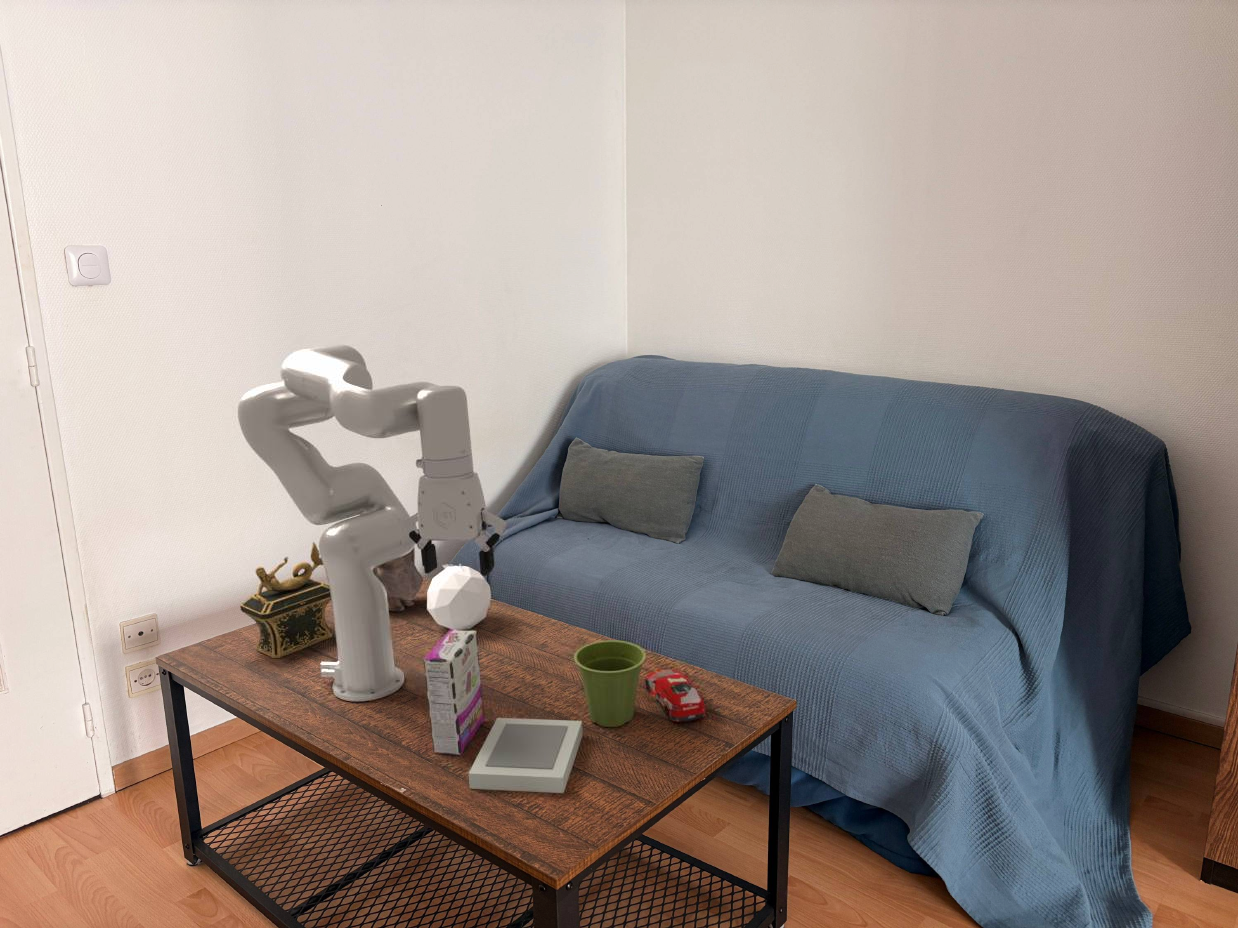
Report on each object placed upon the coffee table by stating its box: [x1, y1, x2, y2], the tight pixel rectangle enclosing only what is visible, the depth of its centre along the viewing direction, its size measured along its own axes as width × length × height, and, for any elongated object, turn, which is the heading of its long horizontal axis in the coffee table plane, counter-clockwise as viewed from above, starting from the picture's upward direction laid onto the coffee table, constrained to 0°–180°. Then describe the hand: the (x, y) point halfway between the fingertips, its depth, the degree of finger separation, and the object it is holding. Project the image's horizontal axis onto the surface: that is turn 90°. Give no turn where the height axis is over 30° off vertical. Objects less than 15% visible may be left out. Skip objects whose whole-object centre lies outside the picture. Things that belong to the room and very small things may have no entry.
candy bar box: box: [423, 629, 485, 756], centre depth 146 cm, size 11×5×16 cm, turn 168°
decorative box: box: [239, 541, 334, 659], centre depth 185 cm, size 20×10×20 cm, turn 140°
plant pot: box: [573, 639, 647, 728], centre depth 151 cm, size 12×12×11 cm
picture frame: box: [468, 717, 584, 794], centre depth 140 cm, size 14×16×3 cm
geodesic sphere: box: [426, 563, 492, 630], centre depth 190 cm, size 14×14×14 cm
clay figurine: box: [373, 547, 424, 612], centre depth 199 cm, size 13×10×25 cm
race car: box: [645, 668, 706, 723], centre depth 156 cm, size 16×7×5 cm, turn 16°
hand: (458, 571), depth 144 cm, fingers open, 9 cm apart
